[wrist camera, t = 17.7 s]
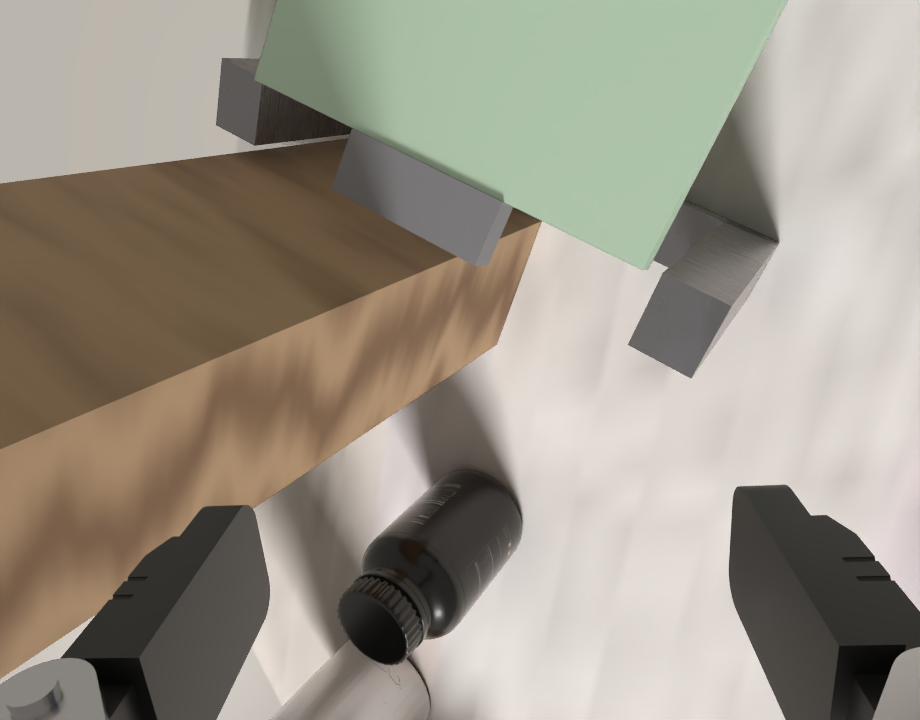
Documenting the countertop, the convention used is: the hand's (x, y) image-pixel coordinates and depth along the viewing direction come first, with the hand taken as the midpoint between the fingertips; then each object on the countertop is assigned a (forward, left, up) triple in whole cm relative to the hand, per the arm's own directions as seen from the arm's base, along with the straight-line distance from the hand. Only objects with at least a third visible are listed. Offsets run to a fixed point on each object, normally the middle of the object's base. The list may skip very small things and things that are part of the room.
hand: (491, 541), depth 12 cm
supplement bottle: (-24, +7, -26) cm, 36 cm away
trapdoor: (+5, +11, -16) cm, 20 cm away
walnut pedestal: (-8, +16, -25) cm, 31 cm away
